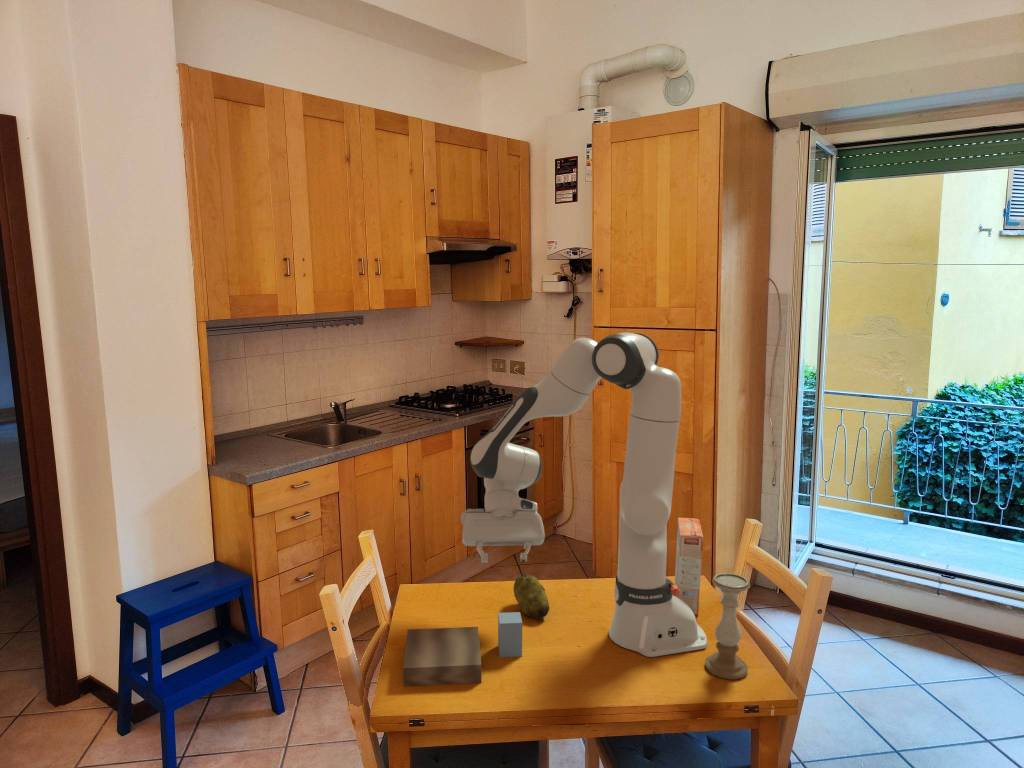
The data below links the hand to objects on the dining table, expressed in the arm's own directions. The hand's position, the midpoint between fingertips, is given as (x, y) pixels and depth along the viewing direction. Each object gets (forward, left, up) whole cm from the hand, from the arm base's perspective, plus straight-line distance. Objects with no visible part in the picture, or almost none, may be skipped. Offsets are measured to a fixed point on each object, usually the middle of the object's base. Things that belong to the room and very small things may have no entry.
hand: (504, 561), depth 167 cm
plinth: (+15, +16, -16) cm, 27 cm away
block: (0, +12, -16) cm, 20 cm away
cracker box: (-48, -8, -16) cm, 51 cm away
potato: (-7, -6, -16) cm, 19 cm away
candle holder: (-46, +23, -16) cm, 54 cm away
